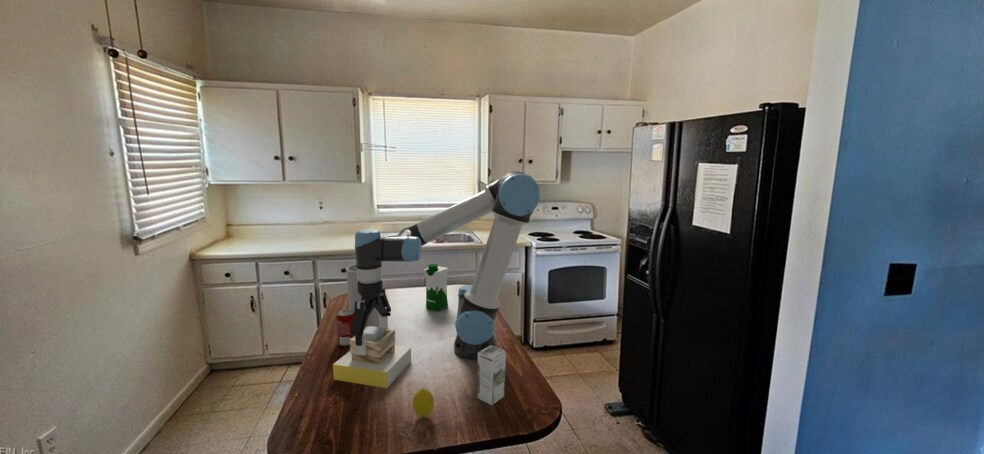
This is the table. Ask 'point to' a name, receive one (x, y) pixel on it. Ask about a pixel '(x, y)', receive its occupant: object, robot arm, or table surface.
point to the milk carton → (436, 287)
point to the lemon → (423, 403)
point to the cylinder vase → (359, 296)
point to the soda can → (344, 326)
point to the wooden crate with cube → (375, 348)
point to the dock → (373, 368)
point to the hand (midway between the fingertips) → (373, 344)
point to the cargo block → (374, 333)
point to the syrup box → (491, 374)
